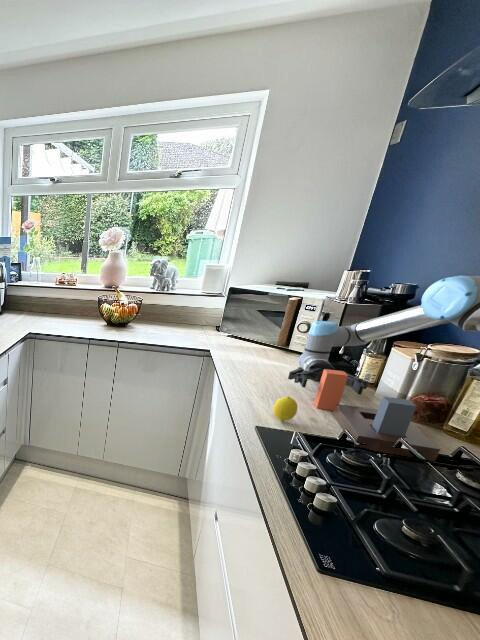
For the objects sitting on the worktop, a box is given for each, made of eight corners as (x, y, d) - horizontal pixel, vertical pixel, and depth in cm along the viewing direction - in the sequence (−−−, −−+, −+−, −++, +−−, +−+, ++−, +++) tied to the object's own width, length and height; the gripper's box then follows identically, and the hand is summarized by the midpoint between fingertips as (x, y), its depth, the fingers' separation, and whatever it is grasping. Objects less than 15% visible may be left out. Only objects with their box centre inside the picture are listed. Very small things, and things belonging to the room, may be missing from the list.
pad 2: (392, 440, 107) (408, 399, 103) (399, 448, 103) (416, 406, 99) (367, 436, 110) (382, 396, 106) (373, 444, 106) (389, 402, 101)
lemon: (279, 416, 123) (285, 392, 120) (297, 423, 118) (305, 398, 115) (265, 418, 121) (272, 394, 119) (284, 426, 116) (291, 400, 114)
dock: (397, 423, 117) (401, 412, 116) (434, 462, 97) (440, 449, 96) (331, 413, 124) (335, 403, 123) (354, 447, 104) (358, 435, 103)
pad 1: (333, 406, 130) (344, 371, 126) (336, 411, 126) (348, 375, 122) (313, 403, 132) (323, 368, 128) (316, 408, 128) (327, 373, 124)
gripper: (361, 385, 138) (381, 405, 121) (273, 374, 151) (280, 391, 133) (368, 364, 136) (390, 382, 119) (278, 355, 148) (286, 370, 131)
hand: (332, 387), depth 126 cm, fingers open, 13 cm apart
